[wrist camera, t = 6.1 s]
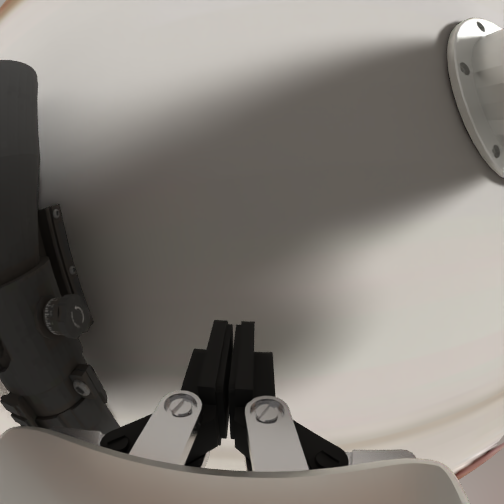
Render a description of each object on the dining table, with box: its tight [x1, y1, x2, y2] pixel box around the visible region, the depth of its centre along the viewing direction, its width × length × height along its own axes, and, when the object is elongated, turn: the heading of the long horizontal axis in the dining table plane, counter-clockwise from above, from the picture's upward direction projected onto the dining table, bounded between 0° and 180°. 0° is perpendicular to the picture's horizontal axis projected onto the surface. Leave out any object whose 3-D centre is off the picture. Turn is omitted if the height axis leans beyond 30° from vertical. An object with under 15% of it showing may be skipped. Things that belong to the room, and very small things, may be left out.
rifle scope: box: [0, 60, 120, 434], centre depth 11 cm, size 10×26×10 cm, turn 7°
